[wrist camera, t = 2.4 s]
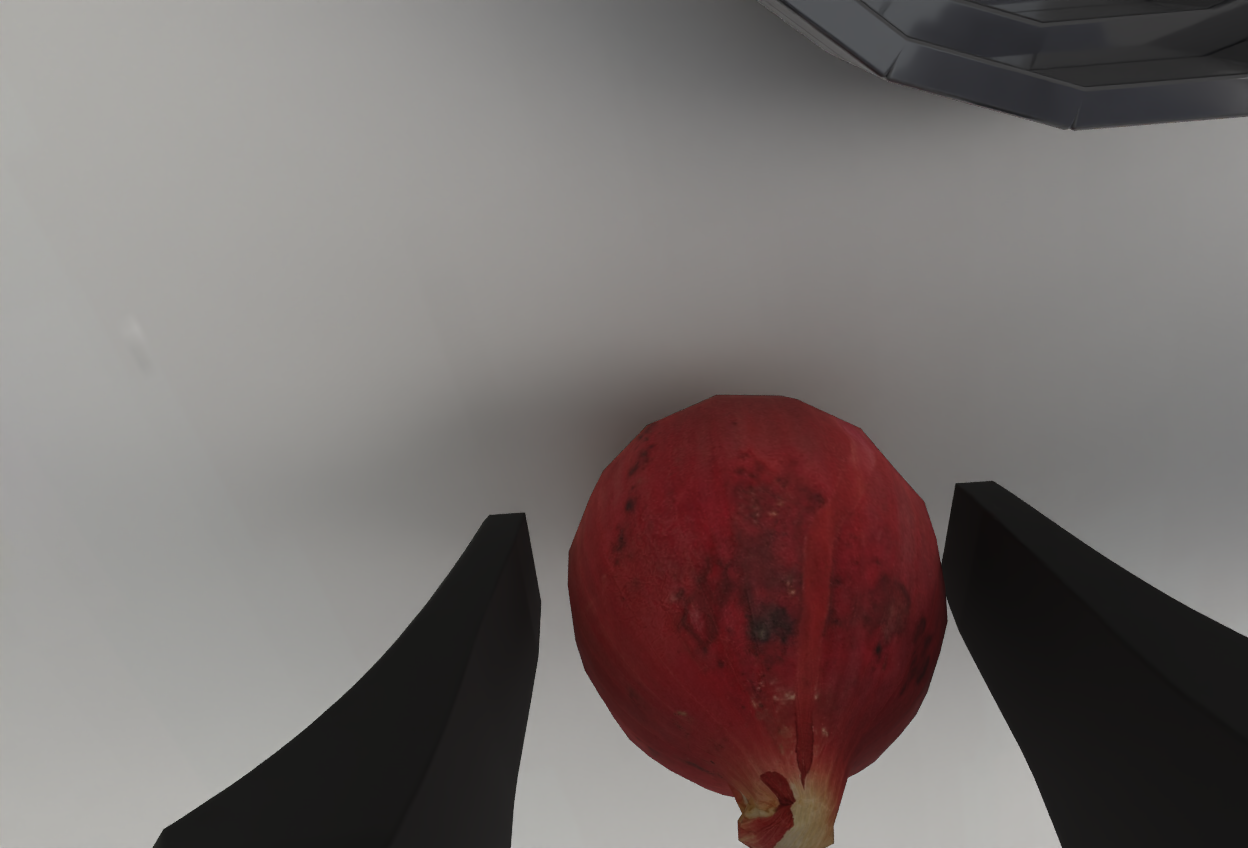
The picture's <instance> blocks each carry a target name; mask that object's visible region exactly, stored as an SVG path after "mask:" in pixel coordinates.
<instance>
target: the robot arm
mask: <svg viewBox="0 0 1248 848" xmlns="http://www.w3.org/2000/svg"><path fill="white" fill-rule="evenodd" d="M941 567H942V572H943V577H944V583H945V589H946V597H947V600H948V603H949V606H950V609H951V611H952V614H953V617H954V619H955V622H956V625H957V627H958V630H959V632H960V634H961V636H962V638H963V640H964V642H965V644H966V646H967V648H968V650H969V652H970V654H971V656H972V658H973V660H974V661H975V663H976V665H977V667H978V669H979V671H980V673H981V675H982V677H983V679H984V681H985V682H986V684H987V686H988V688H989V690H990V692H991V694H992V696H993V698H994V699H995V701H996V703H997V705H998V707H999V709H1000V711H1001V713H1002V715H1003V717H1004V718H1005V720H1006V722H1007V724H1008V726H1009V728H1010V730H1011V732H1012V734H1013V735H1014V737H1015V739H1016V741H1017V743H1018V745H1019V747H1020V749H1021V751H1022V753H1023V755H1024V757H1025V759H1026V761H1027V763H1028V765H1029V768H1030V770H1031V772H1032V774H1033V776H1034V778H1035V781H1036V783H1037V786H1038V788H1039V791H1040V793H1041V796H1042V798H1043V801H1044V803H1045V806H1046V808H1047V811H1048V813H1049V816H1050V818H1051V821H1052V823H1053V826H1054V828H1055V831H1056V833H1057V835H1058V838H1059V841H1060V843H1061V846H1062V848H1248V637H1246V636H1244V635H1241V634H1239V633H1237V632H1236V631H1234V630H1232V629H1230V628H1228V627H1226V626H1224V625H1222V624H1220V623H1218V622H1216V621H1214V620H1212V619H1211V618H1209V617H1207V616H1205V615H1203V614H1201V613H1199V612H1197V611H1195V610H1193V609H1191V608H1190V607H1188V606H1186V605H1184V604H1182V603H1181V602H1179V601H1177V600H1175V599H1173V598H1172V597H1170V596H1168V595H1166V594H1165V593H1163V592H1161V591H1160V590H1158V589H1156V588H1155V587H1153V586H1151V585H1150V584H1148V583H1146V582H1145V581H1143V580H1141V579H1140V578H1138V577H1136V576H1135V575H1133V574H1131V573H1130V572H1128V571H1127V570H1125V569H1124V568H1122V567H1120V566H1119V565H1117V564H1116V563H1114V562H1112V561H1111V560H1109V559H1108V558H1106V557H1105V556H1103V555H1102V554H1100V553H1099V552H1097V551H1096V550H1094V549H1093V548H1091V547H1090V546H1088V545H1087V544H1085V543H1084V542H1082V541H1081V540H1079V539H1078V538H1076V537H1075V536H1073V535H1072V534H1070V533H1069V532H1067V531H1066V530H1064V529H1063V528H1062V527H1060V526H1059V525H1057V524H1056V523H1054V522H1053V521H1051V520H1050V519H1049V518H1047V517H1046V516H1044V515H1043V514H1041V513H1040V512H1039V511H1037V510H1036V509H1034V508H1033V507H1031V506H1030V505H1028V504H1027V503H1026V502H1024V501H1023V500H1021V499H1020V498H1018V497H1017V496H1015V495H1014V494H1012V493H1011V492H1009V491H1008V490H1006V489H1005V488H1003V487H1002V486H1000V485H999V484H997V483H995V482H994V481H985V482H970V483H956V484H955V490H954V496H953V501H952V507H951V513H950V519H949V524H948V530H947V536H946V541H945V547H944V553H943V559H942V564H941ZM540 617H541V598H540V593H539V587H538V581H537V576H536V570H535V565H534V559H533V554H532V548H531V543H530V537H529V531H528V526H527V520H526V515H525V513H511V514H496V515H489V516H488V517H487V518H486V519H485V520H484V522H483V523H482V525H481V526H480V528H479V529H478V531H477V533H476V534H475V536H474V537H473V539H472V540H471V542H470V543H469V545H468V546H467V548H466V549H465V551H464V552H463V554H462V555H461V557H460V558H459V560H458V561H457V563H456V564H455V565H454V567H453V568H452V570H451V571H450V573H449V574H448V575H447V577H446V578H445V579H444V581H443V582H442V583H441V585H440V586H439V588H438V589H437V590H436V592H435V593H434V594H433V596H432V597H431V598H430V600H429V601H428V602H427V604H426V605H425V606H424V607H423V609H422V610H421V611H420V612H419V614H418V615H417V616H416V617H415V618H414V620H413V621H412V622H411V623H410V624H409V626H408V627H407V628H406V629H405V631H404V632H403V633H402V634H401V635H400V637H399V638H398V639H397V640H396V641H395V642H394V644H393V645H392V646H391V647H390V648H389V649H388V650H387V651H386V653H385V654H384V655H383V656H382V657H381V658H380V659H379V660H378V661H377V662H376V663H375V664H374V665H373V666H372V668H371V669H370V670H369V671H368V672H367V673H366V674H365V675H364V676H363V677H362V678H361V679H360V680H359V681H358V682H357V683H356V684H355V685H354V686H353V687H352V688H351V689H350V690H348V691H347V692H346V693H345V694H344V695H343V696H342V697H341V698H340V699H339V700H338V701H337V702H335V703H334V704H333V705H332V706H331V707H330V708H329V709H327V710H326V711H325V712H324V713H323V714H322V715H321V716H320V717H318V718H317V719H316V720H315V721H314V722H313V723H312V724H311V725H309V726H308V727H307V728H306V729H305V730H304V731H302V732H301V733H300V734H299V735H297V736H296V737H295V738H294V739H292V740H291V741H290V742H289V743H287V744H286V745H285V746H283V747H282V748H281V749H280V750H278V751H277V752H276V753H275V754H273V755H272V756H271V757H269V758H268V759H267V760H265V761H264V762H262V763H261V764H260V765H258V766H257V767H256V768H254V769H253V770H252V771H250V772H249V773H248V774H246V775H245V776H243V777H242V778H241V779H239V780H238V781H236V782H235V783H234V784H232V785H231V786H229V787H228V788H226V789H225V790H223V791H222V792H220V793H219V794H217V795H216V796H214V797H213V798H211V799H210V800H208V801H206V802H205V803H203V804H202V805H200V806H199V807H197V808H196V809H194V810H193V811H191V812H190V813H188V814H187V815H185V816H184V817H182V818H181V819H179V820H178V821H176V822H174V823H173V824H171V825H170V826H168V827H166V828H165V829H163V831H162V833H161V834H160V836H159V838H158V839H157V841H156V843H155V844H154V846H153V848H511V836H512V823H513V810H514V800H515V793H516V785H517V777H518V772H519V766H520V760H521V755H522V749H523V743H524V737H525V732H526V726H527V720H528V715H529V709H530V703H531V698H532V692H533V686H534V680H535V674H536V668H537V662H538V655H539V638H540Z"/></svg>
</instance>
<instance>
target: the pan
mask: <svg viewBox="0 0 1248 848" xmlns="http://www.w3.org/2000/svg"><path fill="white" fill-rule="evenodd" d="M756 1H758V2H759V3H760V4H762V5H763V6H764V7H766V8H767V9H768V10H770V11H771V12H773V13H774V14H775V15H777V16H778V17H779V18H781V19H782V20H783V21H785V22H786V23H787V24H789V25H790V26H792V27H793V28H794V29H796V30H797V31H798V32H800V33H801V34H802V35H804V36H805V37H806V38H808V39H809V40H810V41H812V42H813V43H815V44H816V45H817V46H819V47H820V48H821V49H823V50H824V51H825V52H827V53H829V54H831V55H834V56H836V57H838V58H840V59H842V60H844V61H846V62H848V63H850V64H853V65H855V66H857V67H859V68H861V69H863V70H865V71H867V72H869V73H871V74H873V75H875V76H877V77H879V78H881V79H883V80H885V81H888V82H890V83H894V84H898V85H901V86H905V87H909V88H912V89H916V90H920V91H923V92H927V93H931V94H934V95H938V96H942V97H945V98H949V99H953V100H956V101H960V102H964V103H967V104H971V105H975V106H978V107H982V108H986V109H989V110H993V111H997V112H1001V113H1004V114H1008V115H1012V116H1015V117H1019V118H1023V119H1026V120H1030V121H1034V122H1037V123H1041V124H1045V125H1048V126H1052V127H1056V128H1059V129H1063V130H1066V129H1071V130H1074V131H1077V130H1089V129H1101V128H1114V127H1126V126H1139V125H1151V124H1163V123H1176V122H1188V121H1201V120H1213V119H1225V118H1238V117H1248V0H756Z"/></svg>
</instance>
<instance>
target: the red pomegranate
mask: <svg viewBox="0 0 1248 848" xmlns="http://www.w3.org/2000/svg"><path fill="white" fill-rule="evenodd" d="M568 590H569V597H570V605H571V612H572V619H573V626H574V633H575V641H576V644H577V647H578V650H579V653H580V656H581V660H582V663H583V666H584V669H585V671H586V673H587V675H588V676H589V678H590V680H591V681H592V683H593V685H594V686H595V688H596V690H597V691H598V693H599V695H600V696H601V698H602V699H603V701H604V702H605V704H606V706H607V707H608V709H609V711H610V712H611V714H612V715H613V717H614V719H615V720H616V721H617V723H618V724H619V726H620V727H621V728H622V730H623V731H624V732H625V734H626V735H627V737H628V738H629V739H630V740H631V741H632V742H633V743H634V744H635V745H637V746H638V747H639V748H640V749H641V750H642V751H644V752H645V753H646V754H647V755H648V756H649V757H651V758H652V759H654V760H655V761H657V762H658V763H660V764H661V765H663V766H664V767H666V768H667V769H669V770H670V771H672V772H674V773H676V774H678V775H680V776H682V777H684V778H686V779H688V780H690V781H692V782H694V783H696V784H698V785H700V786H702V787H704V788H706V789H708V790H711V791H714V792H717V793H719V794H722V795H726V796H732V797H735V800H736V802H737V804H738V806H739V808H740V810H741V812H742V815H741V816H740V818H739V819H738V838H739V841H740V842H742V843H743V844H745V845H747V846H748V847H750V848H826V847H828V846H830V845H832V844H834V828H833V826H834V823H835V819H836V816H837V813H838V810H839V806H840V803H841V799H842V796H843V793H844V789H845V786H846V782H847V779H848V777H850V776H852V775H854V774H856V773H858V772H860V771H861V770H863V769H864V768H866V767H867V766H869V765H870V764H872V763H873V762H875V761H876V760H877V759H878V758H879V756H880V755H881V754H882V753H883V752H884V751H885V750H886V749H887V748H888V747H889V746H890V745H891V744H892V743H893V742H894V741H895V740H896V739H897V738H898V737H899V736H900V735H901V733H902V732H903V731H904V729H905V728H906V727H907V726H908V724H909V723H910V722H911V721H912V719H913V718H914V717H915V715H916V714H917V712H918V710H919V708H920V706H921V704H922V702H923V700H924V698H925V696H926V694H927V692H928V689H929V686H930V682H931V679H932V676H933V673H934V670H935V667H936V664H937V660H938V657H939V654H940V651H941V647H942V642H943V638H944V634H945V630H946V626H947V622H948V620H947V604H946V589H945V583H944V577H943V572H942V567H941V561H940V556H939V550H938V545H937V539H936V536H935V533H934V530H933V527H932V524H931V521H930V518H929V515H928V512H927V509H926V506H925V503H924V501H923V500H922V499H921V498H920V496H919V495H918V494H917V493H916V492H915V491H914V490H913V489H912V487H911V486H910V485H909V484H908V483H907V482H906V481H905V480H904V478H903V477H902V476H901V475H900V474H899V473H898V472H897V470H896V469H895V468H894V467H893V466H892V465H891V464H890V462H889V461H888V460H887V459H886V458H885V456H884V455H883V454H882V453H881V452H880V451H879V449H878V448H877V447H876V446H875V445H874V444H873V442H872V441H871V440H870V439H869V438H868V436H867V435H866V434H865V433H864V432H863V431H862V429H861V428H858V427H856V426H854V425H852V424H850V423H848V422H845V421H843V420H841V419H839V418H837V417H835V416H832V415H830V414H828V413H826V412H824V411H822V410H819V409H817V408H815V407H813V406H811V405H809V404H806V403H804V402H802V401H800V400H798V399H794V398H789V397H784V396H772V395H715V396H713V397H711V398H708V399H706V400H704V401H701V402H699V403H697V404H695V405H692V406H690V407H688V408H685V409H683V410H681V411H679V412H676V413H674V414H672V415H669V416H667V417H665V418H662V419H660V420H658V421H656V422H653V423H651V424H649V425H647V426H646V427H645V428H644V429H643V430H642V431H641V432H640V433H639V434H638V435H637V436H636V437H635V438H634V439H633V440H632V441H631V442H630V443H629V444H628V445H627V446H626V448H625V449H624V450H623V451H622V452H621V453H620V454H619V455H618V456H617V457H616V458H615V459H614V460H613V461H612V462H611V463H610V464H609V465H608V466H607V467H606V468H605V469H604V470H603V472H602V474H601V476H600V478H599V480H598V482H597V484H596V486H595V488H594V490H593V492H592V494H591V496H590V499H589V501H588V504H587V506H586V509H585V511H584V514H583V516H582V519H581V522H580V524H579V527H578V529H577V532H576V534H575V537H574V539H573V542H572V545H571V547H570V550H569V560H568Z"/></svg>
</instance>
